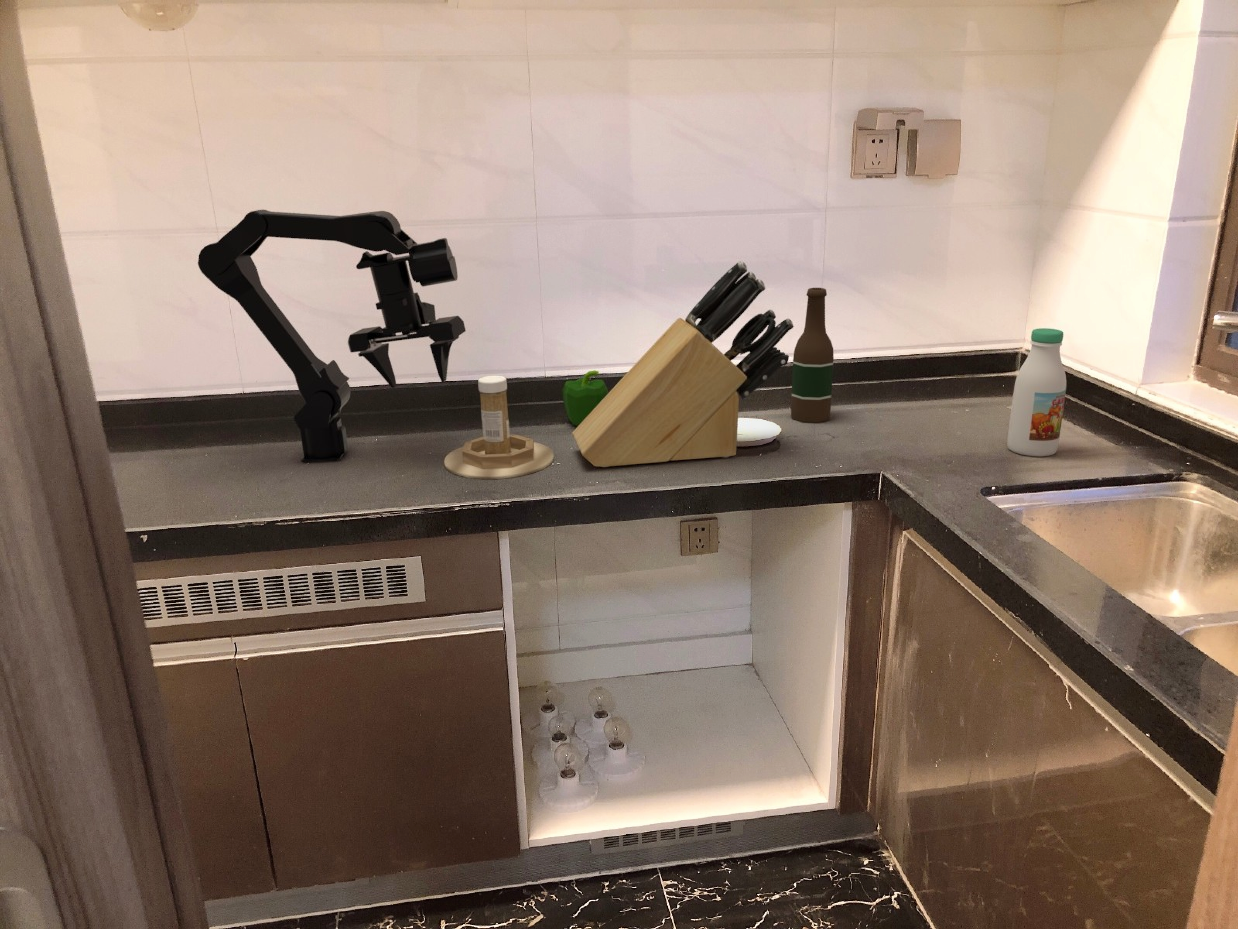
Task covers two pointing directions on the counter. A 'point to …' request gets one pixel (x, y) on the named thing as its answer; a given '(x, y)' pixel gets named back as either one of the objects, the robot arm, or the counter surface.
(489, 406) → the sprinkles bottle
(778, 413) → the counter surface
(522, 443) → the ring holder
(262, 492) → the counter surface
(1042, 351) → the milk bottle
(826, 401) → the beer bottle
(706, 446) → the knife block
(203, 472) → the counter surface
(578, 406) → the bell pepper
